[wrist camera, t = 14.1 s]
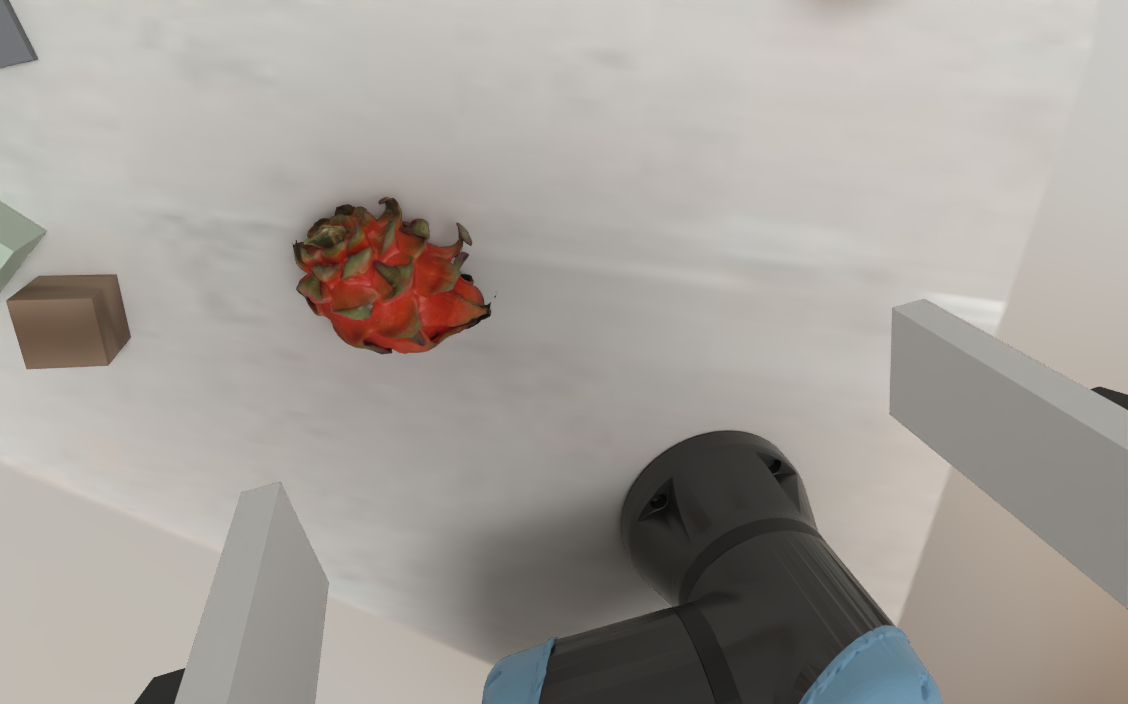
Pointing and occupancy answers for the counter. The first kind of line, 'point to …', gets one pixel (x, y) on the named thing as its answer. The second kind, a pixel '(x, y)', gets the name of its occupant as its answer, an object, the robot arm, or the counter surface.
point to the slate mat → (13, 38)
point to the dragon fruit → (387, 281)
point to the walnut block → (69, 321)
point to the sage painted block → (15, 241)
